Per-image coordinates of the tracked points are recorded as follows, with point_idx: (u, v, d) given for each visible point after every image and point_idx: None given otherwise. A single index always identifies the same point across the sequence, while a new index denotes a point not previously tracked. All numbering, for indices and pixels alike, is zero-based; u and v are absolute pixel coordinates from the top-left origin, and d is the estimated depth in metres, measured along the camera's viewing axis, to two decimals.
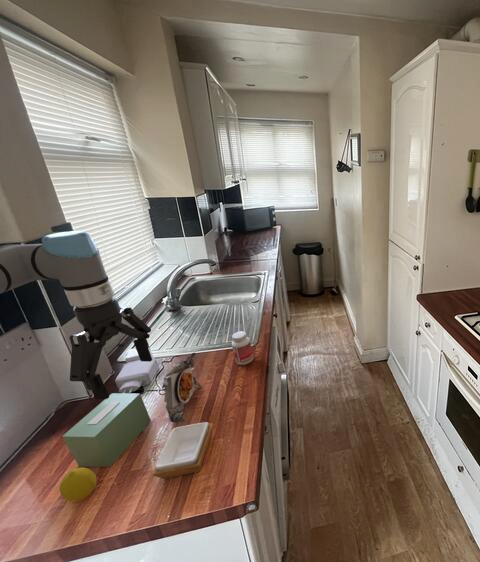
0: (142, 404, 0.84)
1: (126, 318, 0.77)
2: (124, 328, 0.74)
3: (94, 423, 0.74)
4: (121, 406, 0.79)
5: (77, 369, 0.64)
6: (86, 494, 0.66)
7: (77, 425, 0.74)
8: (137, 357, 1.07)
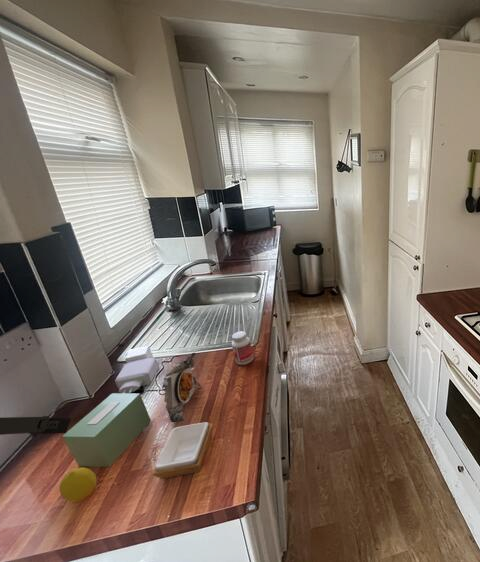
0: (142, 404, 0.84)
1: None
2: None
3: (94, 423, 0.74)
4: (121, 406, 0.79)
5: None
6: (86, 494, 0.66)
7: (77, 425, 0.74)
8: (137, 357, 1.07)
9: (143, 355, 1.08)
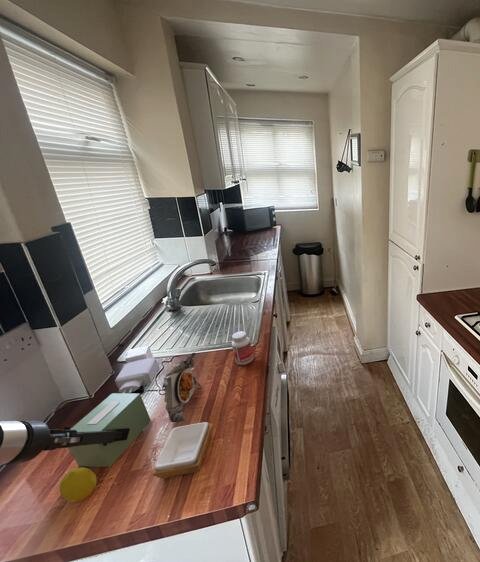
0: (142, 404, 0.84)
1: None
2: (62, 447, 0.66)
3: (94, 423, 0.74)
4: (121, 406, 0.79)
5: None
6: (86, 494, 0.66)
7: (77, 425, 0.74)
8: (137, 357, 1.07)
9: (143, 355, 1.08)
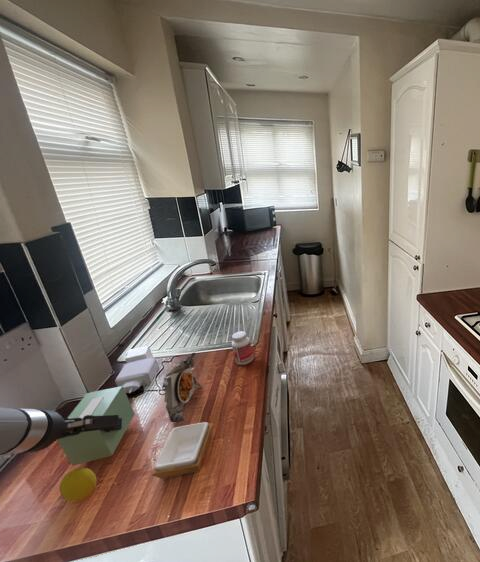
0: (125, 396, 0.84)
1: None
2: (70, 435, 0.65)
3: None
4: (108, 398, 0.79)
5: None
6: (86, 494, 0.66)
7: None
8: (137, 357, 1.07)
9: (143, 355, 1.08)
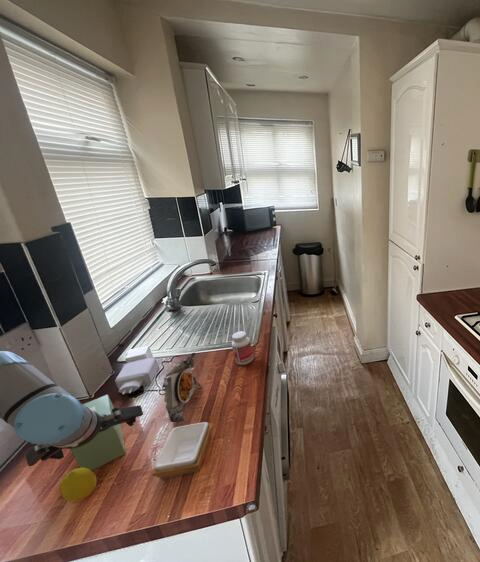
0: None
1: None
2: None
3: None
4: (102, 406, 0.80)
5: (30, 459, 0.64)
6: (86, 494, 0.66)
7: None
8: (137, 357, 1.07)
9: (143, 355, 1.08)
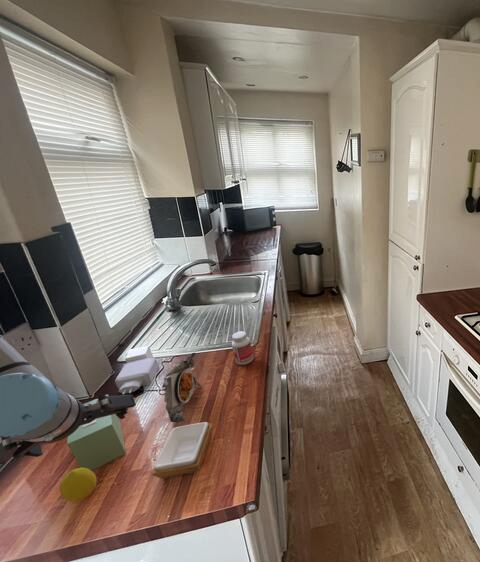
0: None
1: None
2: (86, 423, 0.58)
3: (91, 422, 0.74)
4: None
5: None
6: (86, 494, 0.66)
7: None
8: (137, 357, 1.07)
9: (143, 355, 1.08)
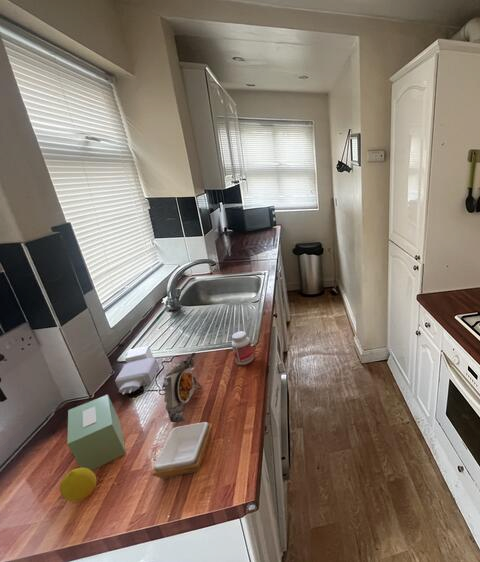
0: None
1: None
2: None
3: (91, 422, 0.74)
4: (102, 406, 0.80)
5: None
6: (86, 494, 0.66)
7: (71, 433, 0.72)
8: (137, 357, 1.07)
9: (143, 355, 1.08)
